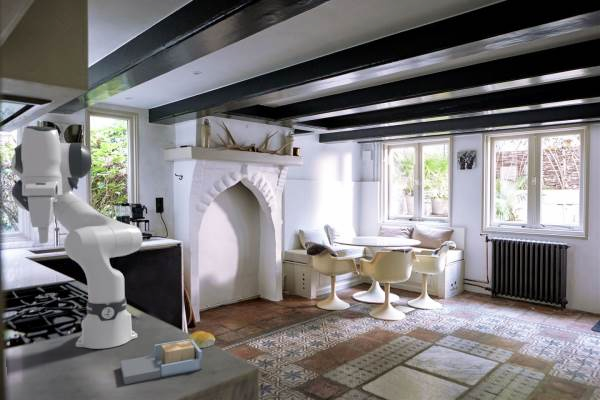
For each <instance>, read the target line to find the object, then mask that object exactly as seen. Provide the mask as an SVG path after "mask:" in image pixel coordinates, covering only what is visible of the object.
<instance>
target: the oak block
mask: <svg viewBox="0 0 600 400" xmlns="http://www.w3.org/2000/svg"><path fill="white" fill-rule="evenodd" d="M191 359H194V346H193V345H192V343H191V342H190V341H184V342H178V343H172V344H166V345H162V363H163V365H165V364H170V363H175V362H181V361H186V360H191Z"/></svg>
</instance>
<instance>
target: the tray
mask: <svg viewBox="0 0 600 400" xmlns="http://www.w3.org/2000/svg"><path fill="white" fill-rule="evenodd" d="M184 341H190V342H191V343H192V345H193V346H194V359H191V360H186V361H181V362H175V363H170V364H165V365H163V363H162V345H166V344H172V343H178V342H184ZM153 347H154V357H155V359H156V362H157V364H158V366H159V368H160V374H161V378H164V377H165V378H166V377H171V376H175V375H180V374H185V373H189V372H195V371H199V370H200V371H201V370H203V351H202V350H201V348H199V347H198V346H197V345H196V343H195V342H194V341H193V339H188V338H187V339H181V340H174V341H170V342H163V343H157V344H154V346H153Z"/></svg>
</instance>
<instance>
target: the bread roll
mask: <svg viewBox="0 0 600 400" xmlns="http://www.w3.org/2000/svg"><path fill="white" fill-rule="evenodd" d="M187 339H193V341H194V342H195V343H196V345H197V346H198V347H199V348H200V349H204V348H210V347H211V346H213V345H214V344H215V341H216V337H215V336H214V334H212V333H210V332H207V331H203V330H198V331H194V332H193V333H191V334H190V335H189V336H188V338H187Z"/></svg>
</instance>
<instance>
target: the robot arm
mask: <svg viewBox="0 0 600 400" xmlns="http://www.w3.org/2000/svg"><path fill="white" fill-rule="evenodd" d="M58 131H59V130H58V129H56V128H55V127H52V126H42V125H29V126H25V127H24V128H23V131H22V138H21V143H20V144H19V145H18V144H17V146H16V147H15V148H13V150H14V154H13V155H12V158H11V162H10V165H11V170H12V171H13V174H15V175H16V176H17V177H18V178H19V179H18V180H17V181H16V180H14V181H13V183H14V184H13V186H12V188H11V196H12V198H13V199H12V200H13V201H14V203H15V205H17V206H18V207H19V208H21V209H23V210H24V211H27V212H29V218H30V223H31V224H30V225H31V226H32V228H37V231H38V239H39V244H47V243H48V242H49V231H50V226H51V224H52V223H53V222H54V217H55V219H56V220H57V221H58V223H59V224H60V225H61V226H62V227H63V228H65V230H67V232H68V233H67V235H66V237H65V239H64V243H63V244H64V245H63V246H64V251H65V253H66V255H67V256H68V257H69V259H71V260H72V261H75V263H77V264H78V265H79V266H80V267H81V269H82V270H83V272H84V274H85V277H86V282H87V292H88V293H87V297H88V299H87V301H86V313H87V314H86V316H85V317H84V318H83V319H82V320H81V323H80V329H82V330H81V332H80V333H81V335H80V336H79V337H78V339H77V341H75V348H76V347H77V348H86V349H96V350H97V349H98V350H100V349H110V348H116V347H118V346H121V345H124V344H126V343H128V342H130V341H131V340H134V339H137V338H138V333H137V332H136V331H134V330H133V329H132V314H131V312H129V311H128V310H127V299H126V296H125V277H124V275H123V274H124V273H122V272H121V271H120V270H118V269H116V268H113V267H112V266H111V262H110V259H111V258H116V257H125V256H127V255H130V254H133V253H135V252H138V251H139V249H141V247H142V245H143V234H142V232H141V230H140V228H139V227H138V226H136V225H133V224H128V223H125V222H122V221H119V220H117V219H114V218H112V217H109V216H107V215H105V214H103V213H101V212H99V211H97V210H96V209H95V208H93V207H92V206H91V205H90V204H88V202H86V201H85V200H84V199H82V198H81V197H80V196H77V195H76V194H75V193H74V191H73V190H74V189H75V190H78V189H79V187H78V184H79V181H80V179H82V178H84V177H85V176H87V175H88V174H89V173H90V172H91V170H92V164H93V162H92V161H93V159H92V154H91V151H90V149H89V148H88V147H87V146H85V145H84V144H83V143H82V142H71V143H70V142H69V143H68V142H60V141H61V140H60V135H59V132H58Z"/></svg>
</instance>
